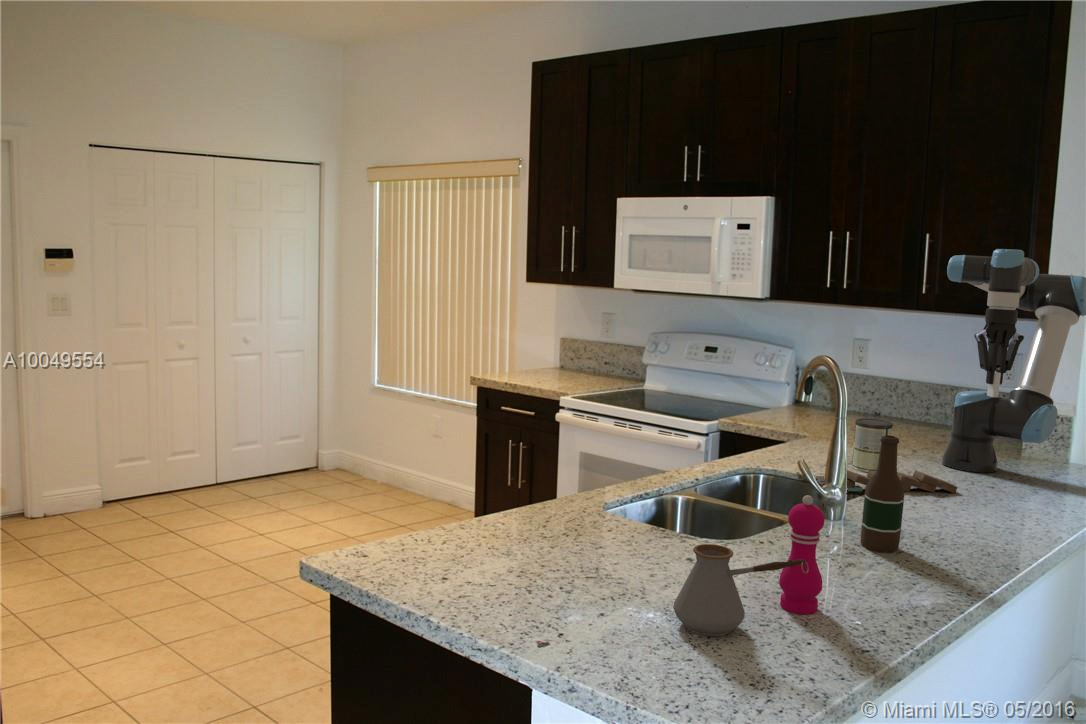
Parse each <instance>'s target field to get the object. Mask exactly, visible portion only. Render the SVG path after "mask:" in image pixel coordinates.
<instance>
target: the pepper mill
mask: <svg viewBox="0 0 1086 724" xmlns="http://www.w3.org/2000/svg"><path fill="white" fill-rule="evenodd" d="M787 520H788V521H787V523H788V524H789V526H790V527H791V529H790V530H789V534H790V535H789V539H790V540H791V549H790V553H789V556H788V559H787V560H786V562H788V560H792V561H796V560H800V559H802V560H805V561H806V562H807V563H808V566H809V571H808V573H804V572H807V569H808V568H807V564H806V563H805V564H803V570H804V572H803V571H802V568H801V565H794V566H793V567H792V568H790V567H789V566H788V567H785V568H782V569H781V571H780V575H779V579H778V583H779V587H780V589H781V590H782V591H783V592H782V593H781V595H780V601H779V605H780V607H781V608H782V609H783V610H785V611H787V612H790V613H793V614H798V615H811V614H815V613H817V611H818V606H819V599H818V598H817V596H819V594H821V592H822V591H823V578H822V575H821V574H822V573H821V571H820V568H819V566H818V562H817V557H816V556H817V545H818V544H819V543H820V542H821V540H820V539H821V538H820V537H821V534H820V531H822V529H823V528H824V526H825V515H824V512H823V511H822V509H821V508H820V507H818V506H816V505H815V504H814V498H813V497H812V496H811V495H809V494H808V495H804V496H803V497H802V502H801V503H798V504H796V505H794V506H793V507H792V508H790V511H789V512H788V516H787Z"/></svg>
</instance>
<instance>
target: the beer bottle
mask: <svg viewBox="0 0 1086 724" xmlns="http://www.w3.org/2000/svg"><path fill="white" fill-rule="evenodd" d="M880 441H881V448H880V454H879V460H878V466H877V470H876V473H875V474H874V475H873V476H872V477H871V479H870V480H869V482H868V484H867V486H866V485H865V491H864V497H863V499H864V500H863V509H862V519H861V528H860V529H861V530H860V531H861V532H860V545H861V546H862V547H864V548H865V550H869V551H873V552H875V553H876V552H877V553H885V554H887V553H888V554H889V553H890V554H891V553H892V554H893V553H894V552H896V551H898V550H899V547H900V541H901V534H902V533H901V531H902V524H903V523H902V522H903V511H904V502H905V491H904V489H903V485H902V483H901V481H900V479H899V477H898V475H897V472H898V469H897V467H898V444H899V443H900V439H899V437H897V436H896V435H892V436H890V435H885V436H882V437H881V439H880Z"/></svg>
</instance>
